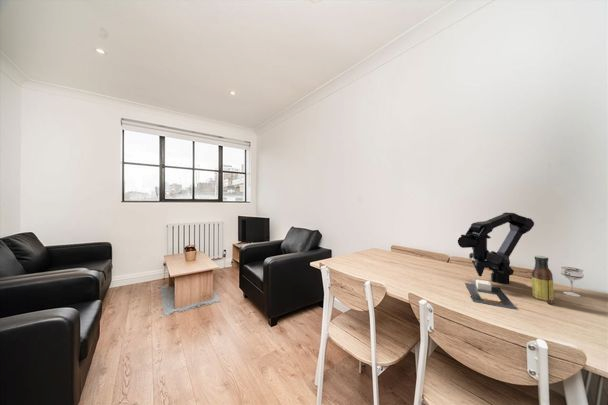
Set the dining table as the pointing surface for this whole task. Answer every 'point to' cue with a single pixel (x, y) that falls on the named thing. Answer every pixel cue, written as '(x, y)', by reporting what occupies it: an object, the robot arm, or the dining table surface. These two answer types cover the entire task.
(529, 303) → the dining table surface
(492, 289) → the plate
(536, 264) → the sauce bottle
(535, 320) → the dining table surface
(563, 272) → the wineglass
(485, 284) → the clip block
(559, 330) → the dining table surface
